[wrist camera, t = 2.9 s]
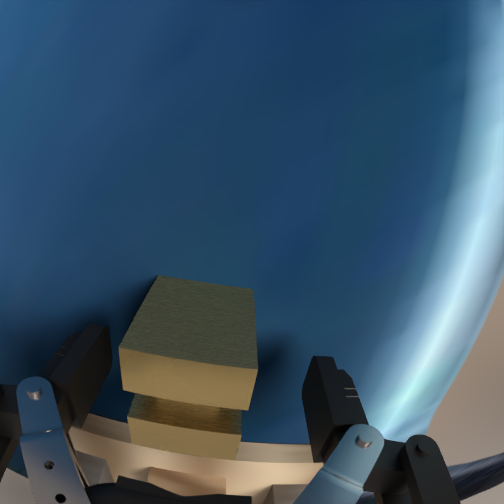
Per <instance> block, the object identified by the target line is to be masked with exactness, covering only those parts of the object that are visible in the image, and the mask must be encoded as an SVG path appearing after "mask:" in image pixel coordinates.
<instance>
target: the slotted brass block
mask: <svg viewBox="0 0 504 504" xmlns="http://www.w3.org/2000/svg"><path fill="white" fill-rule="evenodd" d="M119 357H120V367H121V376H122V384H123V390H125V391H130V392H134V393H135V396H134V399H133V401H132V404H131V407H130V410H129V413H128V415H127V419H128V425H129V431H130V436H131V442H132V444H135V445H139V446H144V447H148V448H153V449H158V450H163V451H169V452H174V453H180V454H186V455H193V456H200V457H208V458H216V459H226V460H235V459H236V455H237V451H238V448H239V444H240V440H241V436H242V410H248V409H249V405H250V401H251V397H252V393H253V389H254V384H255V380H256V376H257V372H258V359H257V341H256V324H255V306H254V289H247V288H240V287H233V286H226V285H219V284H212V283H205V282H199V281H192V280H186V279H179V278H173V277H167V276H160V275H158V277H157V278H156V280H155V282H154V283H153V285H152V287H151V289H150V291H149V292H148V294H147V296H146V298H145V299H144V301H143V303H142V305H141V307H140V308H139V310H138V312H137V314H136V316H135V317H134V319H133V321H132V323H131V325H130V327H129V329H128V330H127V332H126V334H125V336H124V338H123V340H122V342H121V344H120V346H119Z"/></svg>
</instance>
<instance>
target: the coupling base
mask: <svg viewBox="0 0 504 504" xmlns="http://www.w3.org/2000/svg"><path fill="white" fill-rule="evenodd" d="M69 434H70V437H71V440H72V443H73V446H74V448H75V451H76V454H77V457H78V459H79V462H80V464H81V467H82V469H83V472H84V474H85V476H86V478H87V480H88V482H89V485H90V486H92V485H95V484H100V483H112V482H113V483H116V481H117V478H118V475H120V476H124V477H128V478H132V479H136V480H140V481H144V482H149V483H152V484H154V485H156V486H158V487H161V488H163V489H166V490H168V491H170V492H173V493H175V494H178V495H181V496H196V495H209V494H228V495H241V496H252V504H293V503H294V501H295V500H296V499H297V498H298V496H299V495H300V494H301V493H302V492H303V490H304V489H305V488H306V486H307V485H308V484H309V483H310V481H311V480H312V479H313V477H314V476H315V475H316V473H317V472H318V471H319V470H320V468H322V467H323V465H324V464H323V463H313V457H312V451H311V446H310V445H302V444H267V443H251V442H240V444H239V448H238V451H237V455H236V459H235V460H226V459H216V458H208V457H200V456H193V455H186V454H180V453H174V452H169V451H163V450H158V449H153V448H148V447H144V446H139V445H135V444H132V442H131V436H130V431H129V425H128V423H123V422H119V421H116V420H112V419H108V418H104V417H101V416H97V415H94V414H90V413H89V414H88V416H87V418H86V420H85V422H84V424H83V426H82V429H81V428H78V427H75V426H71V428H70V430H69Z"/></svg>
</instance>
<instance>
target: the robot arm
mask: <svg viewBox="0 0 504 504" xmlns="http://www.w3.org/2000/svg"><path fill="white" fill-rule="evenodd" d="M111 365H112V350H111V342H110V333H109V328H108V326H104V325H100V324H95V323H89V324H88V325H87V326H86V328H85V329H84V330H83V332H82V333H80V332H76V333H74V334H72V335H71V336H69V337H68V338H67V339H66V340H65V341H64V342H63V344H62V345H61V348H59V349H58V350H57V352H56V354H54V356H53V357H52V358H51V360H50V361H49V362H48V364H47V365H46V367H45V368H44V369H43V371H42V372H41V373H40V375H39V376H38V377H29V378H26V379H24V380H23V381H21V382H20V383H19V385H18V386H15V385H5V384H0V482H1V479H2V477H3V475H4V472H5V470H6V468H7V466H8V463H9V461H10V459H11V457H12V455H13V452H14V450H15V448H16V446H17V444H18V442H19V440H20V444H21V449H22V453H23V458H24V462H25V466H26V470H27V474H28V478H29V481H30V485H31V488H32V492H33V495H34V498H35V501H36V504H252V496H241V495H228V494H209V495H196V496H181V495H178V494H175V493H173V492H170V491H168V490H166V489H163V488H161V487H158V486H156V485H154V484H152V483H149V482H144V481H140V480H136V479H132V478H128V477H124V476H120V475H118V478H117V481H116V483H113V482H112V483H100V484H95V485H92V486H90V485H89V482H88V480H87V478H86V476H85V474H84V472H83V469H82V467H81V464H80V462H79V459H78V457H77V454H76V451H75V448H74V446H73V443H72V440H71V437H70V434H69V430H70V428H71V426H75V427H78V428H81V429H82V426H83V424H84V422H85V420H86V418H87V416H88V414H89V412H90V410H91V408H92V406H93V404H94V401H95V399H96V397H97V395H98V393H99V391H100V389H101V387H102V385H103V383H104V381H105V379H106V377H107V376H108V374H109V372H110V369H111ZM302 400H303V406H304V412H305V417H306V423H307V428H308V434H309V440H310V446H311V451H312V457H313V463H323V464H324V465H323V467H322V468H320V470H319V471H318V472H317V473H316V475H315V476H314V477H313V479H312V480H311V481H310V483H309V484H308V485H307V486H306V488H305V489H304V490H303V492H302V493H301V494H300V495H299V496H298V498H297V499H296V500H295V501H294V503H293V504H356V502H357V501H358V499H359V497H360V495H361V494H362V492H363V491H369V492H374V495H375V500H376V504H460V501H459V498H458V495H457V492H456V490H455V487H454V484H453V482H452V479H451V477H450V474H449V471H448V469H447V466H446V464H445V461H444V459H443V456H442V454H441V452H440V449H439V447H438V445H437V443H436V442H435V441H434V440H433V439H432V438H430V437H428V436H425V435H414V436H411V437H410V438H409V439H408V440H407V441H406V443H403V442H397V441H391V440H386V439H384V438H383V436H382V434H381V433H380V431H378V430H377V429H376V428H374V427H372V426H370V425H369V424H368V421H367V418H366V415H365V413H364V410H363V407H362V404H361V402H360V399H359V398H358V394H357V391H356V390H355V386H354V383H353V380H352V378H351V377H350V376H349V375H348V374H347V373H346V372H345V371H344V370H337V367H336V364H335V361H334V358H333V357H327V356H313V357H312V359H311V362H310V365H309V368H308V371H307V374H306V377H305V380H304V383H303V388H302Z"/></svg>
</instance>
